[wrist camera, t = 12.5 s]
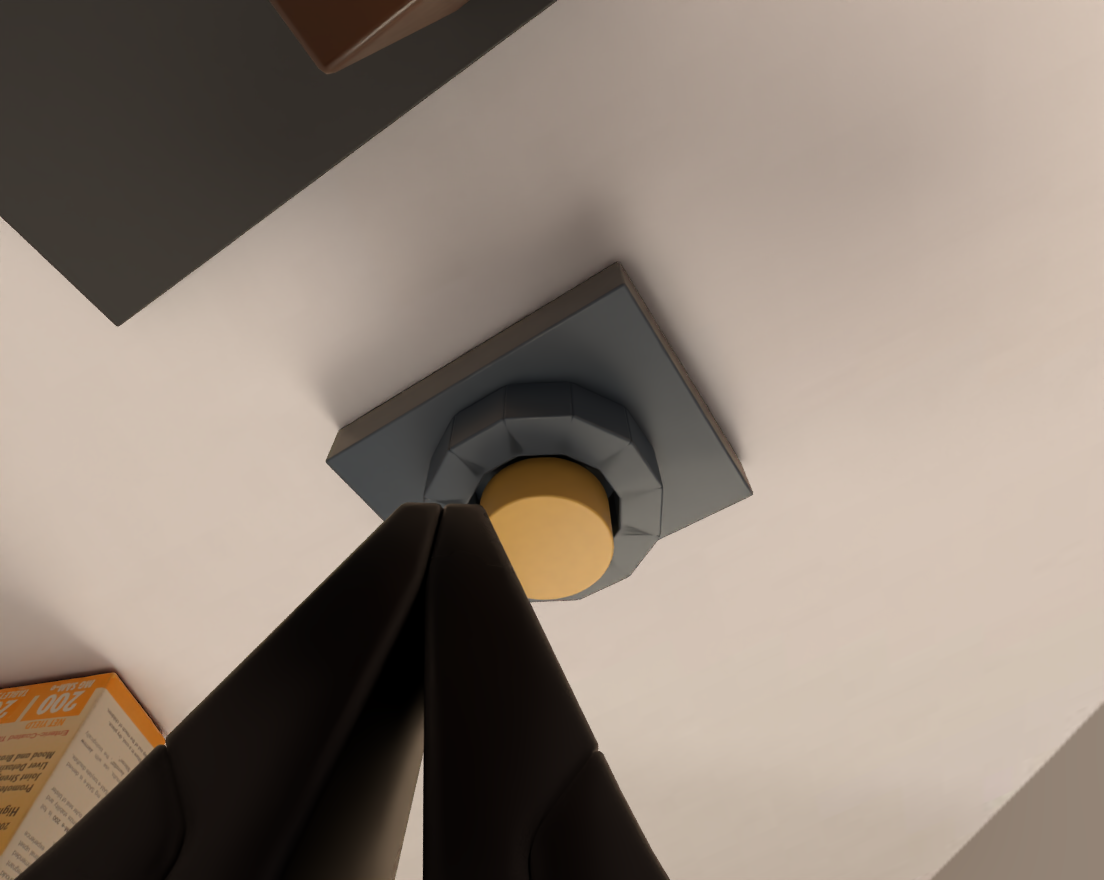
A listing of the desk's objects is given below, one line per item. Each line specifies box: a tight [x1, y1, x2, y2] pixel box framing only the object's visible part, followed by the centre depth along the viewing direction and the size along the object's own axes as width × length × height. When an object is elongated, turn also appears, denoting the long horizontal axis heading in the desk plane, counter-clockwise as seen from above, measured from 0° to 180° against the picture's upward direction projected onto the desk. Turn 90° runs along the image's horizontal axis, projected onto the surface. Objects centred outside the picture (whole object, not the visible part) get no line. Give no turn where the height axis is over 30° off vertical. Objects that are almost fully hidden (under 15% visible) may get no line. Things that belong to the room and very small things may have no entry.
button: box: [480, 457, 614, 600], centre depth 20 cm, size 4×4×2 cm
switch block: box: [326, 262, 753, 602], centre depth 21 cm, size 10×8×4 cm
